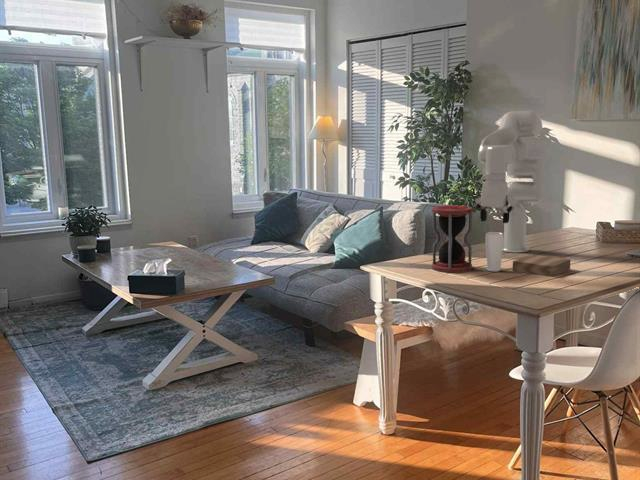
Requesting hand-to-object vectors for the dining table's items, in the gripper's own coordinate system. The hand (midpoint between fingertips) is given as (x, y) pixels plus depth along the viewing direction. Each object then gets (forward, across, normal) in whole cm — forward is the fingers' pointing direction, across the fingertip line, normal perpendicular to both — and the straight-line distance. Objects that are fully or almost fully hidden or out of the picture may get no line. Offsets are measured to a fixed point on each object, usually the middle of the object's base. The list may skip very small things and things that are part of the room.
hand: (494, 221), depth 246 cm
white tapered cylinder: (+20, 0, +1) cm, 20 cm away
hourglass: (+20, -15, -6) cm, 26 cm away
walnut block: (+20, +14, +13) cm, 27 cm away
